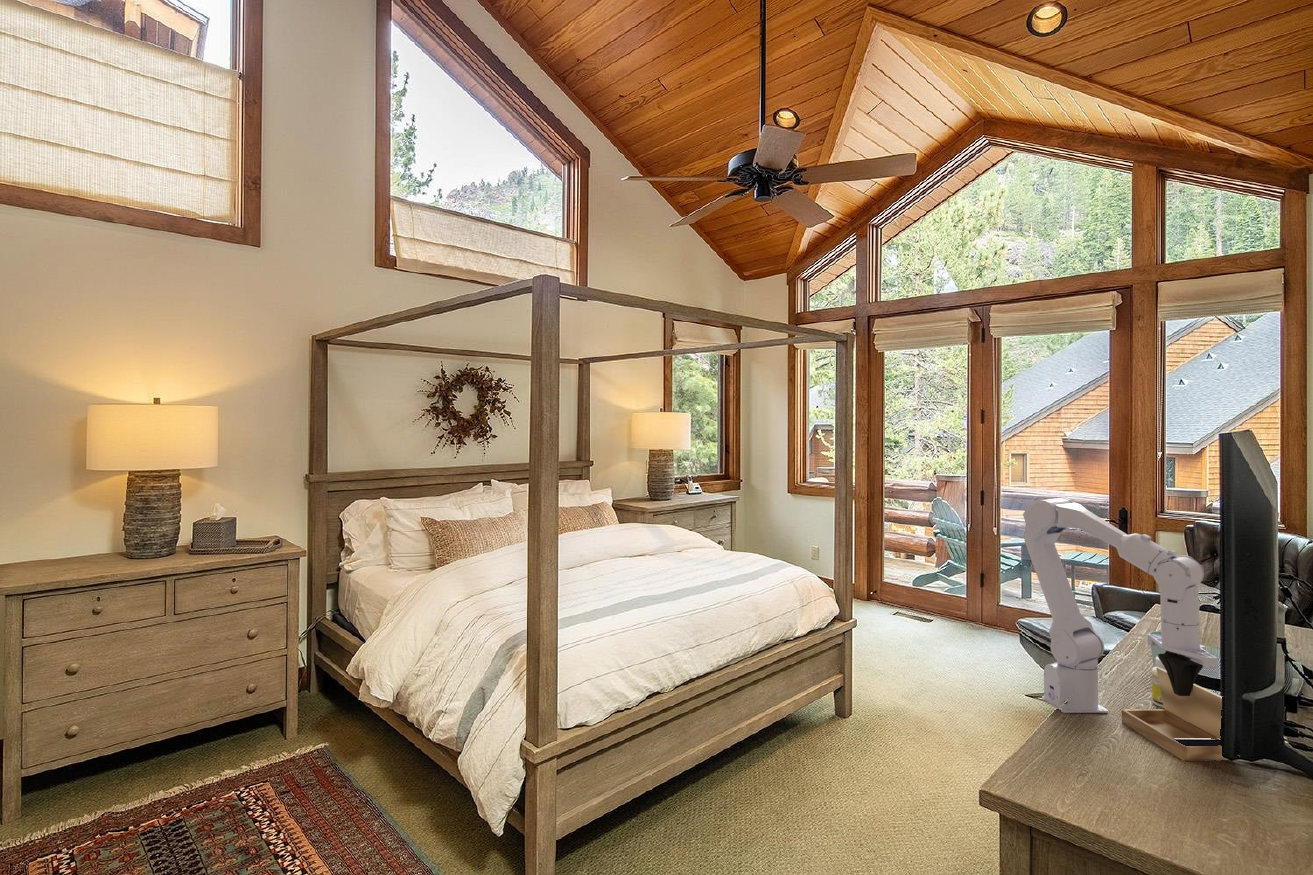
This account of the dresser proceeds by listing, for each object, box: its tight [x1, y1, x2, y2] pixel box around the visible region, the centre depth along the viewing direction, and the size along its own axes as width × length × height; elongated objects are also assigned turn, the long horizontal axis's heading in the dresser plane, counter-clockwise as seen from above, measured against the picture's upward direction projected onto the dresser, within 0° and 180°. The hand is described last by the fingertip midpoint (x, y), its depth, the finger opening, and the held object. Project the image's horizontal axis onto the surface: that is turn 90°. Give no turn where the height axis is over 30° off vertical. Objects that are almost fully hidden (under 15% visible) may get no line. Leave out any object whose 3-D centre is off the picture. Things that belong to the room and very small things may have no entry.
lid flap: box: [1156, 667, 1223, 740], centre depth 125 cm, size 8×16×1 cm
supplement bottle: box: [1151, 657, 1166, 709], centre depth 140 cm, size 5×5×10 cm
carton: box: [1121, 708, 1224, 762], centre depth 125 cm, size 8×16×2 cm, turn 179°
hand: (1181, 694), depth 124 cm, fingers closed, pressing on lid flap
